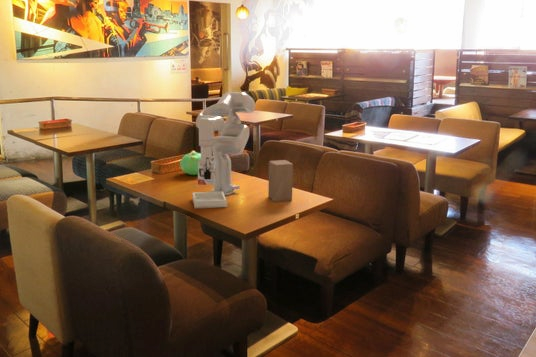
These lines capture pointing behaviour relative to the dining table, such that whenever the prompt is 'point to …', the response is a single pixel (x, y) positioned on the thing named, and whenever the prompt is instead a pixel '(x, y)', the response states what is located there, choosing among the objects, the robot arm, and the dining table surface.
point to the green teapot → (191, 163)
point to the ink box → (201, 174)
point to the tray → (209, 199)
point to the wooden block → (280, 180)
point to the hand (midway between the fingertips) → (206, 177)
